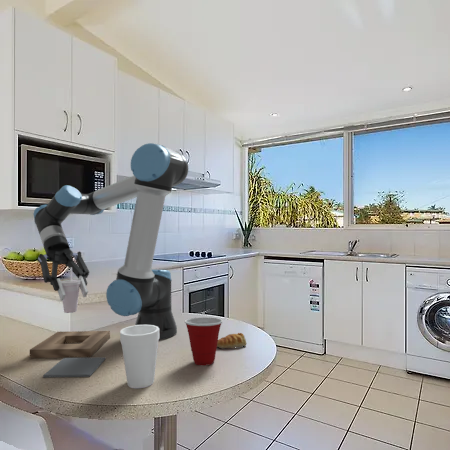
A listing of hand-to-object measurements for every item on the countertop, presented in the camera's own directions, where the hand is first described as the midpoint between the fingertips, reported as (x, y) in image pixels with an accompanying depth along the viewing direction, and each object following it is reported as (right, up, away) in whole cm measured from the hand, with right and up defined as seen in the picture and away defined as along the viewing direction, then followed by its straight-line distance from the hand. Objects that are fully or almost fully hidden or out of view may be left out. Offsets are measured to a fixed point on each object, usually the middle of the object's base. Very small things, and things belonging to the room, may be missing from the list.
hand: (74, 295), depth 112 cm
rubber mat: (+6, -17, -13) cm, 22 cm away
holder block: (-2, -17, +4) cm, 18 cm away
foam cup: (+26, -17, -23) cm, 39 cm away
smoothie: (-2, -6, +3) cm, 7 cm away
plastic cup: (+41, -17, -10) cm, 45 cm away
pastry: (+49, -17, +3) cm, 52 cm away
